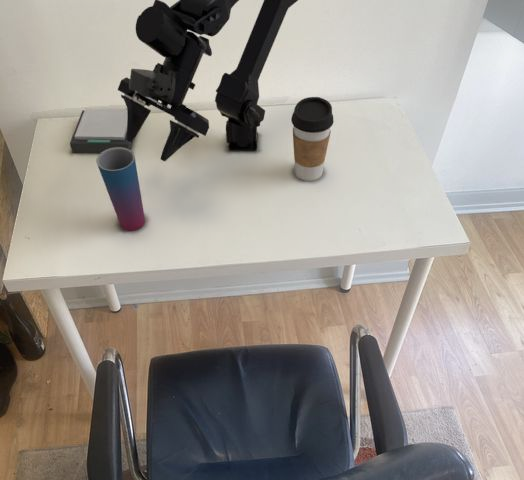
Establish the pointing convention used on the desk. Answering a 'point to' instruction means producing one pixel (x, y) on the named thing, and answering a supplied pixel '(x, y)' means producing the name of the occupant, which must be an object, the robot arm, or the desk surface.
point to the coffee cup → (311, 136)
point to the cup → (122, 186)
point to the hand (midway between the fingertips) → (145, 150)
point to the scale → (100, 131)
